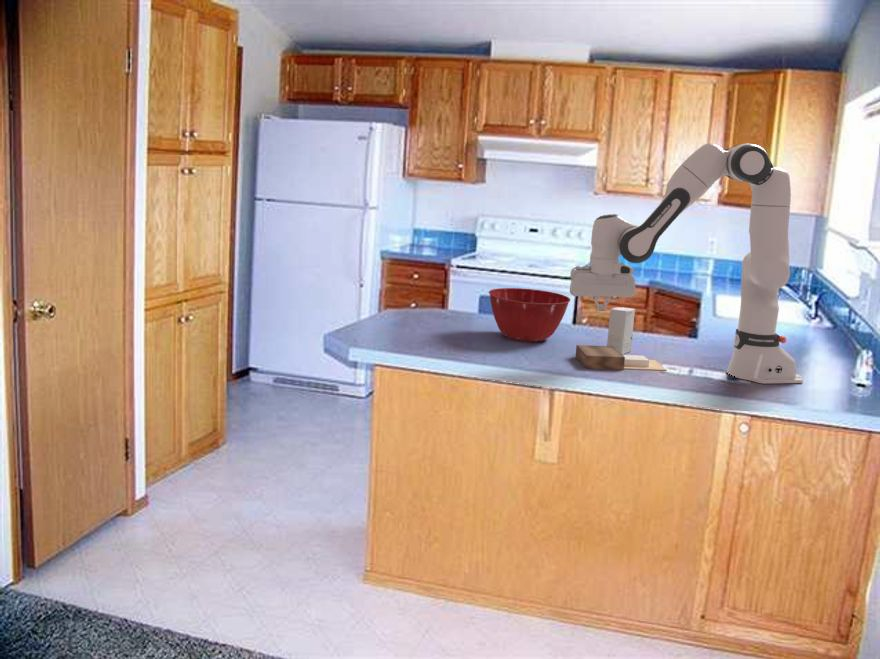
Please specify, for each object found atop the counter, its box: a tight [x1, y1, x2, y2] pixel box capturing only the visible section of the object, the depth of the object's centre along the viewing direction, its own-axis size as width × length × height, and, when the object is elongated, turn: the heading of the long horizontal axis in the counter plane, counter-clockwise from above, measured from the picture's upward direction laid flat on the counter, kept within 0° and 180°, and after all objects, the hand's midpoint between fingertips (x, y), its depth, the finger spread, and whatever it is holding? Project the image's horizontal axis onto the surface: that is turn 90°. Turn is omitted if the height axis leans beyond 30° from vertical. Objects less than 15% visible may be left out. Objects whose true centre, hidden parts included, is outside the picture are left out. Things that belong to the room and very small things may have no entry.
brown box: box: [575, 344, 625, 371], centre depth 276 cm, size 12×14×4 cm
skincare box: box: [606, 306, 636, 355], centre depth 293 cm, size 8×6×15 cm
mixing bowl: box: [488, 287, 571, 343], centre depth 305 cm, size 28×28×15 cm
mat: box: [624, 359, 667, 371], centre depth 278 cm, size 14×12×1 cm
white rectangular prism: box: [623, 354, 650, 367], centre depth 278 cm, size 9×6×2 cm, turn 94°
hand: (600, 310), depth 275 cm, fingers closed
